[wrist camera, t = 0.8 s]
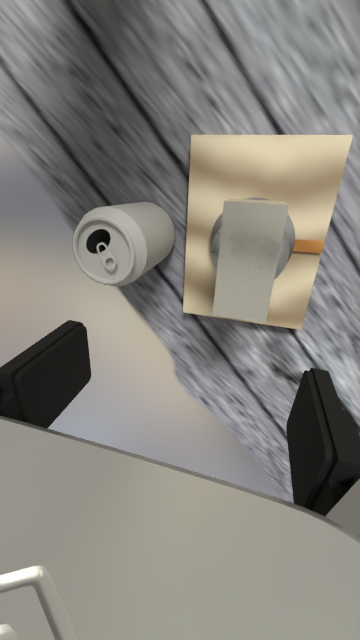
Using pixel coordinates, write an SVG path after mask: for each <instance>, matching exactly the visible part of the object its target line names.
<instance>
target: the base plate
mask: <svg viewBox="0 0 360 640" xmlns="http://www.w3.org/2000/svg"><path fill="white" fill-rule="evenodd" d="M352 137H353V135H191V150H190V172H189V193H188V215H187V236H186V258H185V279H184V301H183V312H184V313H191V314H197V315H204V316H211V317H218V318H225V319H231V320H238V321H245V322H252V323H259V324H266V325H272V326H279V327H286V328H293V329H300V330H301V328H302V324H303V321H304V317H305V313H306V309H307V306H308V302H309V298H310V294H311V291H312V287H313V283H314V279H315V276H316V272H317V268H318V264H319V261H320V257H321V253H322V249H323V246H324V242H325V238H326V234H327V231H328V227H329V223H330V219H331V216H332V212H333V208H334V204H335V201H336V197H337V193H338V189H339V186H340V182H341V178H342V174H343V171H344V167H345V163H346V159H347V156H348V152H349V148H350V144H351V141H352ZM228 199H248V200H268V201H284V202H286V203H287V204H289V208H288V213H287V218H286V223H285V228H284V230H285V232H286V234H287V237H288V240H289V257H288V261H287V263H286V266H285V268H284V269H283V271H282V272H281V273H280V275H279V276H278V277H277V278H276V279H275V280H274V283H273V288H272V293H271V298H270V303H269V308H268V313H267V318H266V323H261V322H254V321H247V320H241V319H234V318H227V317H220V316H213V306H214V296H215V286H216V276H217V271H216V270H215V268H214V265H213V262H212V255H211V249H212V244H213V240H214V238H215V235H216V234H217V232H218V230H219V229H220V228H221V226H222V216H223V206H224V201H226V200H228Z"/></svg>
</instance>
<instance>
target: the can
mask: <svg viewBox="0 0 360 640" xmlns="http://www.w3.org/2000/svg"><path fill="white" fill-rule="evenodd" d="M174 240H175V231H174V225H173V223H172V221H171V219H170V216H169V215H168V214H167V213H166V212H165V211H164V209H163V208H161V207H159V206H158V205H156V204H154V203H150V202H137V203H129V204H121V205H113V206H105V207H99V208H94V209H93V210H91V211H89V212H88V213H86V214H85V215H84V217H83V218H82V219H81V221H80V222H79V224H78V226H77V228H76V229H75V232H74V235H73V240H72V242H73V252H74V256H75V259H76V261H77V263H78V265H79V266H80V268H81V270H82V271H83V272H84V273H85V274H86V275H87V276H88V277H89V278H91V279H93V280H94V281H96V282H98V283H102V284H105V285H111V286H125V285H127V284H129V283H131V282H134V281H135V280H136V279H138V278H139V277H140V276H142V275H143V274H145V273H146V272H147V271H149V270H150V269H151V268H153V267H154V266H155V265H157V264H158V263H159V262H161V261H162V260H163V259H164V258H166V257H167V256H168V255H169V254H170V252H171V250H172V248H173V246H174Z"/></svg>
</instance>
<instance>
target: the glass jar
mask: <svg viewBox="0 0 360 640" xmlns="http://www.w3.org/2000/svg"><path fill="white" fill-rule="evenodd" d="M288 208H289V204H287V203H286V202H284V201H268V200H248V199H228V200H226V201H224V206H223V216H222V226H221V228H220V229H219V230H218V232H217V234H216V235H215V238H214V240H213V244H212V249H211V255H212V262H213V265H214V268H215V270H216V271H217V276H216V286H215V296H214V306H213V316H220V317H227V318H234V319H241V320H247V321H254V322H261V323H266V318H267V313H268V308H269V303H270V298H271V293H272V288H273V283H274V280H275V279H276V278H277V277H278V276H279V275H280V273H281V272H282V271H283V269H284V268H285V266H286V263H287V261H288V257H289V240H288V237H287V234H286V232H285V230H284V228H285V223H286V218H287V213H288Z"/></svg>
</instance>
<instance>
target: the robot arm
mask: <svg viewBox="0 0 360 640" xmlns="http://www.w3.org/2000/svg"><path fill="white" fill-rule="evenodd" d="M90 378H91V369H90V358H89V349H88V339H87V330H86V327H85V326H84V325H83V324H82V323H81V322H76V321H71V320H69V321H67V322H65V323H64V324H62V325H61V326H60V327H58V328H57V329H55V330H54V331H52V332H51V333H49V334H48V335H47V336H45V337H44V338H42V339H41V340H39V341H38V342H36V343H35V344H34V345H32V346H31V347H29V348H28V349H26V350H25V351H24V352H22V353H21V354H19V355H18V356H16V357H15V358H13V359H12V360H11V361H9V362H8V363H6V364H5V365H3V366H2V367H0V640H360V437H359V434H358V431H357V429H356V426H355V424H354V421H353V419H352V416H351V414H350V412H348V411H346V410H342V407H341V404H340V402H339V399H338V396H337V393H336V391H335V388H334V385H333V382H332V380H331V377H330V374H329V372H328V371H326V370H321V369H315V368H311V369H310V371H306V370H305V371H304V373H303V376H302V379H301V382H300V385H299V388H298V391H297V394H296V397H295V400H294V403H293V406H292V409H291V412H290V415H289V418H288V421H287V439H288V449H289V459H290V469H291V478H292V488H293V498H294V503H291V502H288V501H285V500H283V499H280V498H277V497H274V496H271V495H268V494H264V493H262V492H258V491H255V490H252V489H249V488H246V487H243V486H239V485H236V484H233V483H230V482H227V481H224V480H220V479H216V478H213V477H210V476H207V475H204V474H200V473H197V472H193V471H190V470H187V469H183V468H180V467H177V466H173V465H170V464H167V463H163V462H160V461H156V460H153V459H150V458H146V457H143V456H140V455H136V454H133V453H130V452H126V451H123V450H119V449H116V448H112V447H109V446H105V445H102V444H99V443H95V442H92V441H88V440H85V439H81V438H78V437H75V436H71V435H68V434H64V433H61V432H57V431H54V430H50V429H47V428H48V427H49V426H50V425H51V424H52V423H53V421H54V420H55V419H56V418H57V417H58V416H59V415H60V414H61V412H62V411H63V410H64V409H65V408H66V407H67V406H68V405H69V403H70V402H71V401H72V400H73V399H74V398H75V397H76V396H77V394H78V393H79V392H80V391H81V390H82V389H83V388H84V386H85V385H86V384H87V383H88V382H89V380H90Z"/></svg>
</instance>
